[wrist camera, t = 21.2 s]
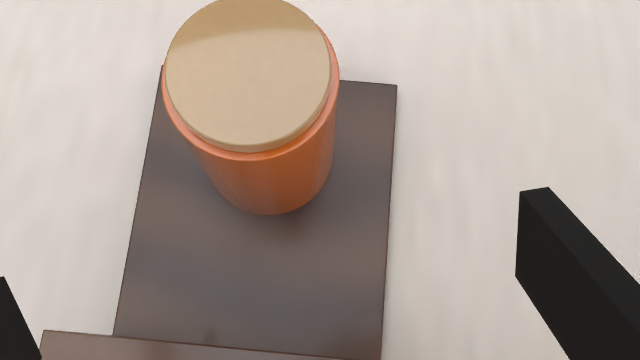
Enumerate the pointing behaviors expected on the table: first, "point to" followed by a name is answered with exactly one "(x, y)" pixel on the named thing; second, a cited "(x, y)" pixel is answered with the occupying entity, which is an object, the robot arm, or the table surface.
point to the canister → (255, 101)
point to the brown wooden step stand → (254, 256)
